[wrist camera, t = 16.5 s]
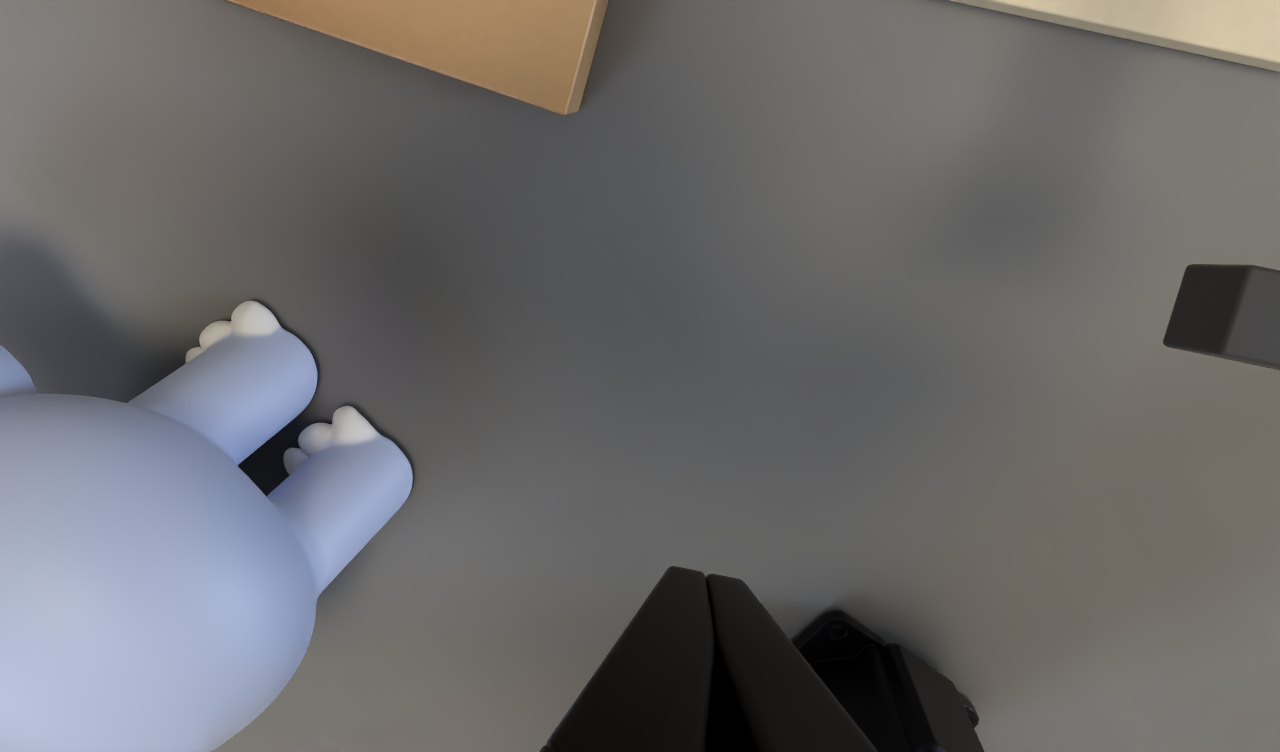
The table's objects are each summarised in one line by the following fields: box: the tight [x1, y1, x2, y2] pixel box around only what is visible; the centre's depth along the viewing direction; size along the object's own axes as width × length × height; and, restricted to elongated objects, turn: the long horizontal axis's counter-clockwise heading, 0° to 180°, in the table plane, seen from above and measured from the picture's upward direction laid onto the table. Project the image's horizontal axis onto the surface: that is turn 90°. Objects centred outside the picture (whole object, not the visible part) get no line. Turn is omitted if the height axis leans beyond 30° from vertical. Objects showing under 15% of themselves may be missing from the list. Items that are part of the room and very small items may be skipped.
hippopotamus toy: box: [0, 301, 413, 752], centre depth 19 cm, size 11×15×10 cm
